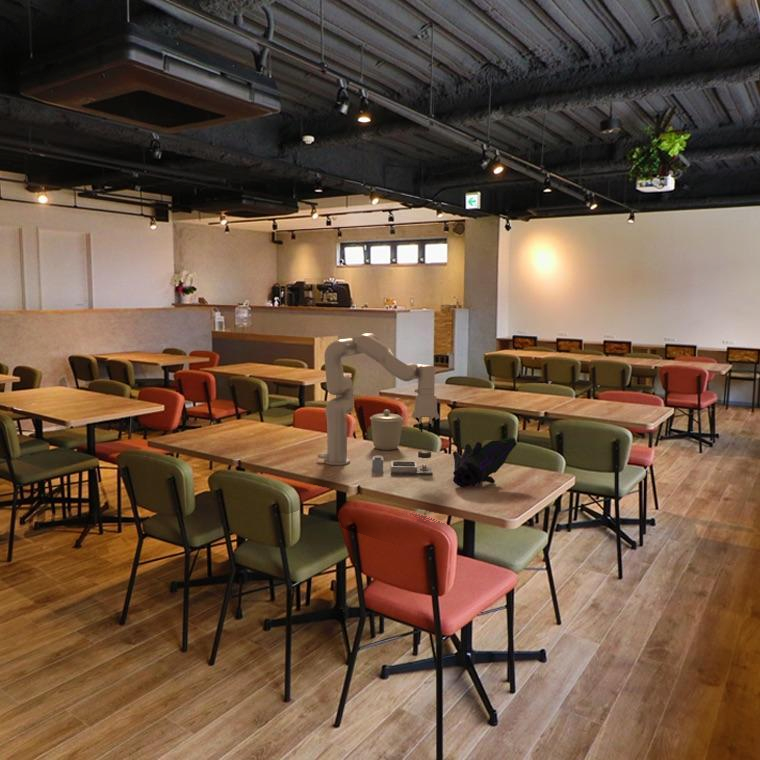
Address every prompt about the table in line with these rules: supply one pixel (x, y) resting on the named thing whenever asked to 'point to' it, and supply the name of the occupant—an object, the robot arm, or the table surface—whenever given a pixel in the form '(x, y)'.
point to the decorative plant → (481, 461)
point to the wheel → (424, 454)
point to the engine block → (377, 464)
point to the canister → (386, 430)
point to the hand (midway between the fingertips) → (425, 431)
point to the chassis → (410, 468)
